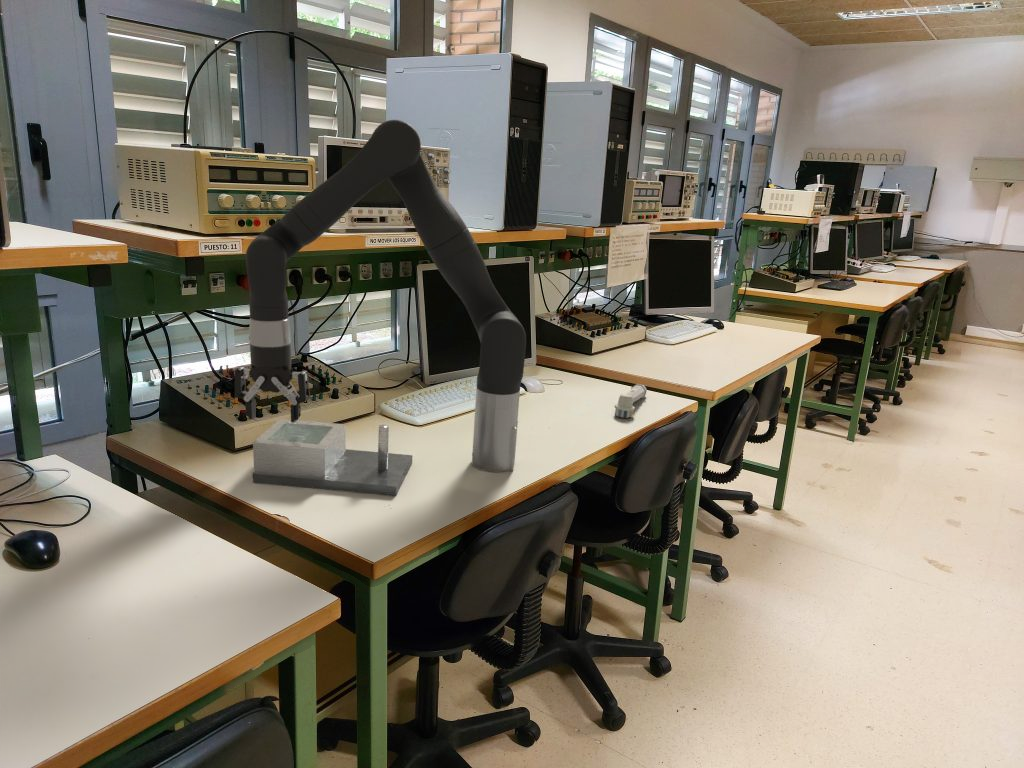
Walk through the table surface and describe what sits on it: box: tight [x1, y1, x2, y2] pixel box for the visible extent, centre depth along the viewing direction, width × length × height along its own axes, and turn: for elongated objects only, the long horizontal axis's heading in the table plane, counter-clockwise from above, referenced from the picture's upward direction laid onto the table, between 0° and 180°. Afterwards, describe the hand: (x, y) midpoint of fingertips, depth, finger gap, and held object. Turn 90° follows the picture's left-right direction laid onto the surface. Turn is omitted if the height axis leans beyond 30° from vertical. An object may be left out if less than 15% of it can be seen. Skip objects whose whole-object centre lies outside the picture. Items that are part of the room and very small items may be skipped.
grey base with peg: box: [252, 424, 413, 497], centre depth 144 cm, size 28×16×11 cm, turn 87°
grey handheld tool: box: [614, 383, 648, 419], centre depth 202 cm, size 5×7×25 cm
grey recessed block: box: [252, 418, 347, 478], centre depth 144 cm, size 14×14×6 cm
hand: (273, 419), depth 143 cm, fingers open, 8 cm apart
